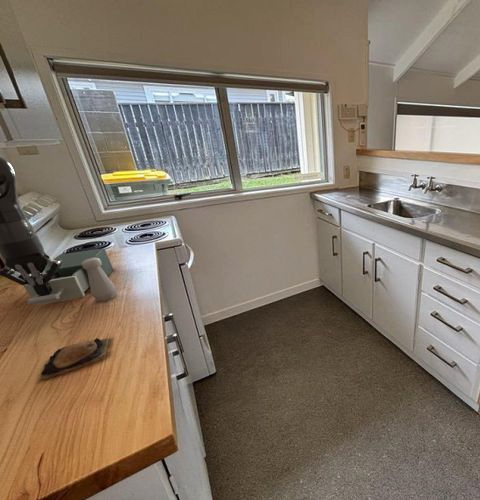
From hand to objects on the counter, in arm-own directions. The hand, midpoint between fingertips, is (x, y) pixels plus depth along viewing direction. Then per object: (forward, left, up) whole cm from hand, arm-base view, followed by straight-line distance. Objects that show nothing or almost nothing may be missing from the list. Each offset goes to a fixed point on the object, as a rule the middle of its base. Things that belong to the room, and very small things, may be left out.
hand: (46, 294), depth 80 cm
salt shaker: (+12, +1, -5) cm, 13 cm away
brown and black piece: (+16, -27, -5) cm, 32 cm away
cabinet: (0, +18, -5) cm, 18 cm away
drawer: (0, +7, -4) cm, 8 cm away
